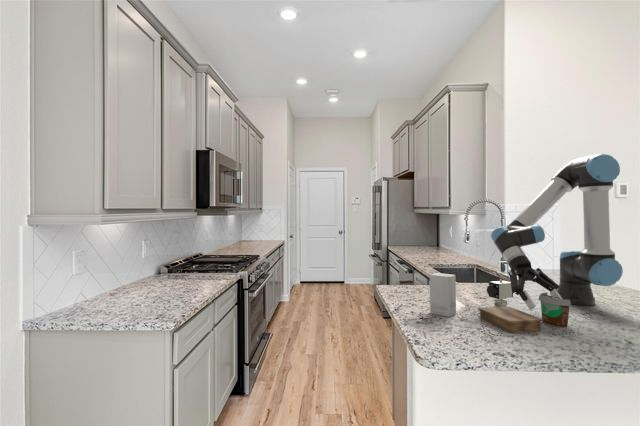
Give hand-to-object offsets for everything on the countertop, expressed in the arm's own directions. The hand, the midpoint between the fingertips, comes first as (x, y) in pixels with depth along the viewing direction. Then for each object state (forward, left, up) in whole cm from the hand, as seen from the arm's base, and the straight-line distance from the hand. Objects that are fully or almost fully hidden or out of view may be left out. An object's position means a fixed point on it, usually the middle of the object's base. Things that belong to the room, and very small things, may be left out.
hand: (548, 307), depth 133 cm
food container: (-1, 0, -6) cm, 6 cm away
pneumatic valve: (+3, -22, -6) cm, 23 cm away
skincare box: (+32, -17, -6) cm, 37 cm away
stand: (+15, -1, -6) cm, 16 cm away
